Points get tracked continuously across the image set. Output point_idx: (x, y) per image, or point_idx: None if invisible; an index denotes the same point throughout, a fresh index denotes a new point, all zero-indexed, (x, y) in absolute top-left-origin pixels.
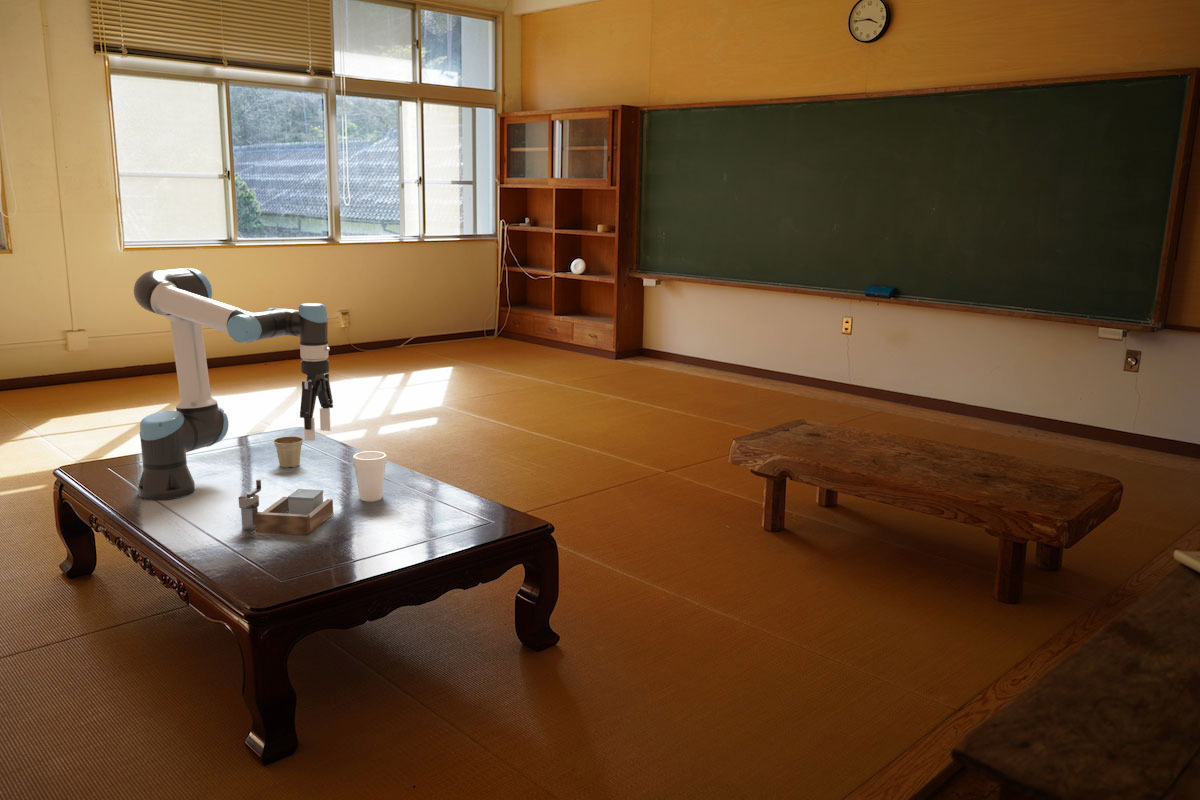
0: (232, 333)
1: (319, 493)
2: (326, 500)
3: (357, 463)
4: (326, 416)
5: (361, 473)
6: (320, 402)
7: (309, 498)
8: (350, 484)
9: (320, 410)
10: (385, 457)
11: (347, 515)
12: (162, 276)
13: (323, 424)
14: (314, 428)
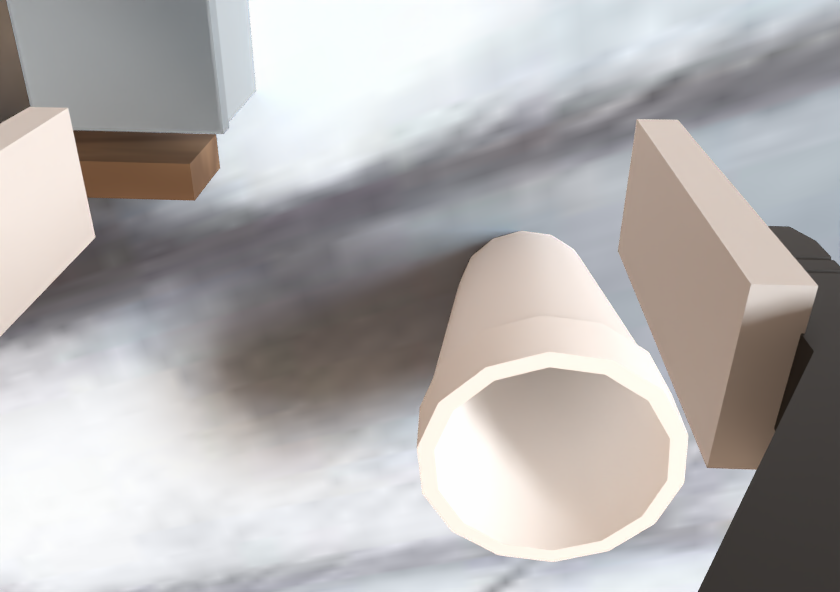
0: None
1: (155, 130)
2: (160, 170)
3: (435, 385)
4: (677, 326)
5: (438, 364)
6: (793, 409)
7: (32, 101)
8: (816, 80)
9: (729, 280)
10: (540, 552)
11: (205, 255)
12: None
13: (652, 203)
14: (4, 320)
